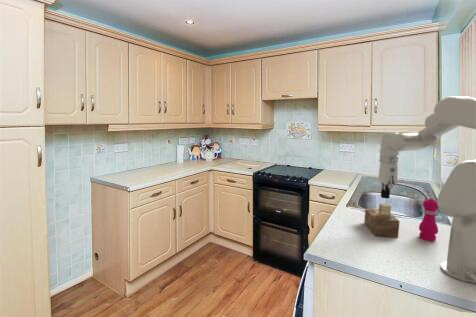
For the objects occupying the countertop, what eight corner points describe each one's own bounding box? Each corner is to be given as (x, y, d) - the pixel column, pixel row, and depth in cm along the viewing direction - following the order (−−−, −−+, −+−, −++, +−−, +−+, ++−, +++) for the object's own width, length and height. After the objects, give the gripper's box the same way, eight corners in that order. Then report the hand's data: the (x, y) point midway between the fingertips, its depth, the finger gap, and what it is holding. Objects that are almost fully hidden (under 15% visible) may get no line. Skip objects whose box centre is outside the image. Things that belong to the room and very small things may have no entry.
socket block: (398, 237, 126) (399, 220, 125) (375, 236, 128) (376, 219, 126) (384, 224, 142) (385, 208, 141) (364, 223, 143) (365, 208, 142)
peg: (389, 222, 128) (391, 206, 127) (381, 222, 129) (382, 205, 128) (386, 219, 132) (387, 203, 131) (378, 219, 132) (379, 203, 131)
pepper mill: (440, 242, 121) (445, 198, 118) (422, 241, 123) (426, 198, 120) (432, 235, 128) (436, 194, 125) (415, 234, 130) (419, 193, 127)
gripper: (404, 162, 118) (400, 203, 121) (390, 156, 133) (387, 193, 136) (386, 162, 119) (382, 202, 122) (374, 156, 134) (371, 192, 137)
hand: (384, 197), depth 129 cm, fingers closed
